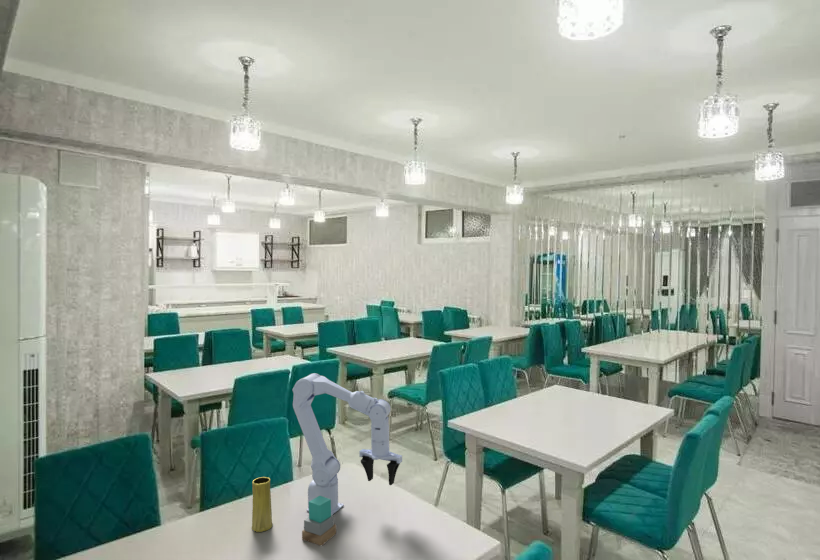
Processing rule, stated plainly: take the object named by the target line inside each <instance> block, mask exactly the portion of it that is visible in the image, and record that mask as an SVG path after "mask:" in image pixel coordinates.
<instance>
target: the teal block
mask: <svg viewBox="0 0 820 560" xmlns="http://www.w3.org/2000/svg"><path fill="white" fill-rule="evenodd" d="M308 517H309V519H311V520H313V521H316V522H319V523H321V522H323V521H324V520H326V519H327V518H329V517H331V499H328V498H325V497H322V496H318V497H316V498H315V499H313V500H311V501H309V511H308Z"/></svg>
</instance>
